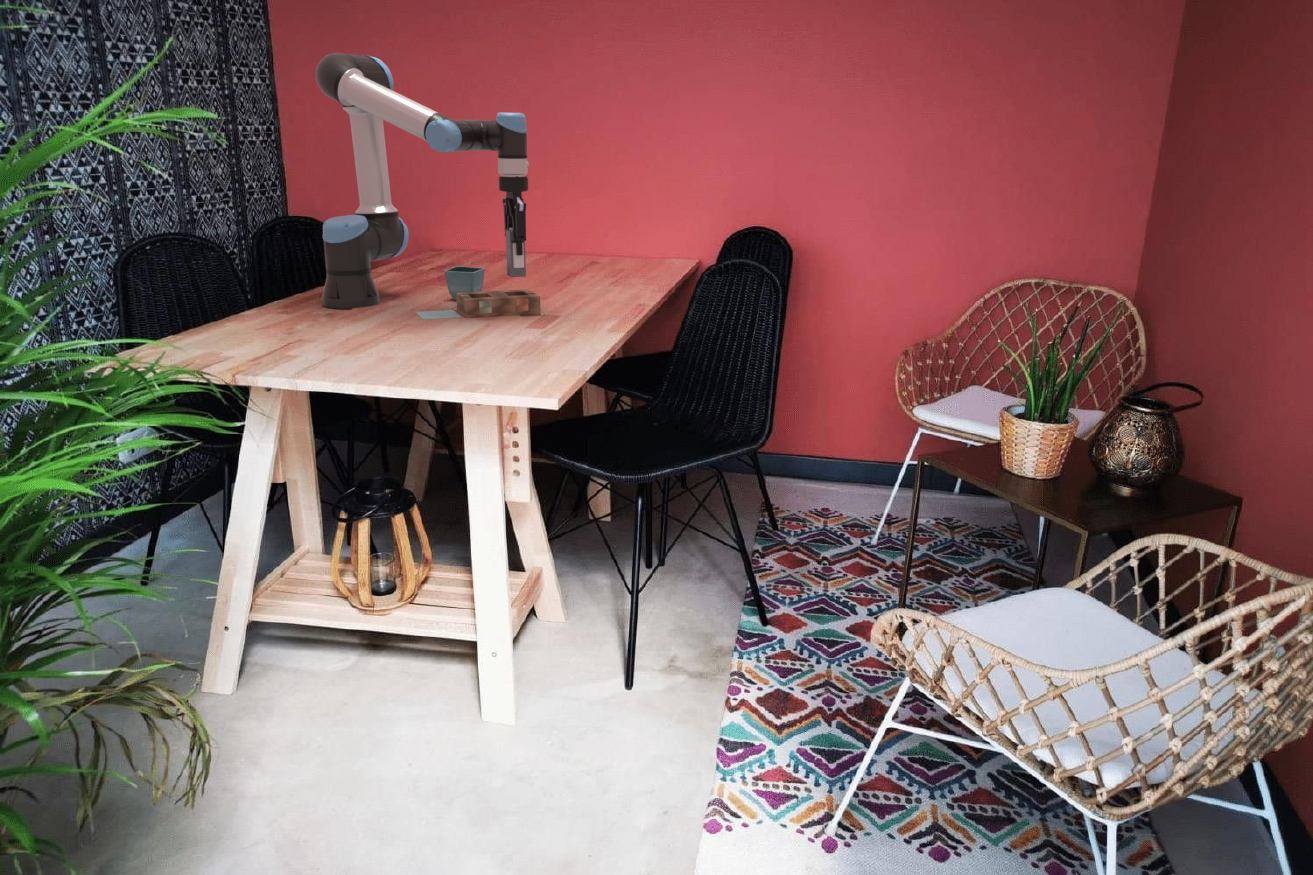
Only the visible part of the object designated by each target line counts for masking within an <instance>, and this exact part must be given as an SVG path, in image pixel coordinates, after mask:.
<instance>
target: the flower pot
mask: <svg viewBox="0 0 1313 875" xmlns="http://www.w3.org/2000/svg"><path fill="white" fill-rule="evenodd" d="M485 270H486V268H485V267H474V266H461V265H460V266H459V265H458V266H453V267H451V268H449V269H445V270H444V275H445V282H446V287H447V290H448V293H449V294H450V297H451V298H452V299H453V300H454V301H456V293H465V292H483V287H484V280H485Z"/></svg>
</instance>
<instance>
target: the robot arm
mask: <svg viewBox="0 0 1313 875" xmlns="http://www.w3.org/2000/svg"><path fill="white" fill-rule="evenodd" d="M315 81H316V84H317V86H318V88H319V90H320V92H322V94H324V95H325V96H326V97H328V98H329V99H331V100H333V101H335V102H337V103H339V104H341V105H342V109H343V111H344V112H346V113H347V114H348V115H349V122H350V130H351V138H352V140H351V141H352V146H353V156H354V163H355V164H354V165H355V173H356V181H357V189H358V190H357V192H358V200H359V206H358V207H357V209H356V210H355V211H354V213H355V214H346V215H340V216H333V217H330V218H328V219H327V220H324V222H323V224H322V237H321V238H322V239H323V240H322V242H323V251H324V262H325V271H326V272H325V273H326V278H325V283H324V287H323V290H322V294H321V295H322V296H321V303H322V306H323V307H326V308H331V309H344V310H347V309H348V310H350V309H357V308H359V309H361V308H366V307H367V308H368V307H372V306H376V305H379V304H381V301H380V294H379V291H378V289H377V286H376V283H375V281H374V279H373V277H372V269H371V268H372V267H371V262H376V261H381V260H391V259H393V258H394V257H398V256H400V255H401V254H403V253H404V251H405V249H406V248H407V247H408V245H409V244H408V243H409V238H410V237H409V236H410V233H409V229H408V225H407V224H406V223H404V220H403V219H402V218H401V217H400V216H399V210H398V208H396V207H395V206H394V204H393V203H392V194H391V188H390V187H391V186H390V176H389V167H388V155H387V148H386V138H385V137H386V136H385V130H384V129H385V128H384V122H387V123H389V124H391V125H393V126H395V127H397V128H399V129H401V130H403V131H405V132H407V133H409V134H411V135H414V136H415V137H417V138H420V139H421V140H424V141H426V142H427V144H428V146H429V147H430V148H431V150H434V151H436V152H442V153H447V154H448V153H455V152H475V151H477V152H478V151H479V152H481V151H484V152H487V151H489V152H490V151H491V152H493V151H494V152H497V157H498V158H497V171H498V174H499V175H500V176H499V177H498V188H499V191H501V192H505V194H506V195H505V198H503V199H502V205H503V220H504V237H505V238H506V230H509V228H512V227H513V236H514V241H511V243H513V266H514V268H524V244H523V243H524V241H525V242H526V241H527V219H526V216H527V215H526V214H527V213H526V210H527V203H526V202H524V198H523V194H522V193H523V192H528V191H529V177H528V176H526V175H527V174H528V172H529V171H528V167H529V166H530V161H528V136H527V135H528V130H527V128H528V127H527V119H526V116H525V114H524V113H522V112H497V114H496V118H495V120H486V119H485V120H484V119H483V120H482V119H452V118H450V117H448V116H445V115H443V114H441V113H440V112H438V111H435V110H433V109H431V108H430V107H427V106H425V105H423V104H421V103H420V102H419V103H418V102H417V101H415V100H413V99H411V98H409V97H407V96H405V95H403V94H400V93H398V92H397V91H395V90H394V78H393V75H392V73H391V70H390V69H389V67H388V65H387V64H385V62H383V61H382V59H379V58H378V57H375V56H371V55H369V54H368V55H367V54H357V53H355V54H353V53H342V52H333V53H329V54H327V55H325V56H324V57H322V58H321V59H320V61H319V62H318V63H317V65H316V69H315Z"/></svg>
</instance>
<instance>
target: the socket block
mask: <svg viewBox="0 0 1313 875" xmlns="http://www.w3.org/2000/svg"><path fill="white" fill-rule="evenodd" d="M455 301H456V311H457V312H459V313H460V314H461V316H463V317H465V318H466V319H475V318H487V317H488V318H490V317H504V316H505V317H506V316H520V317H523V316H525V317H526V316H540V315H541V313H542V312H541V295H539V294H538V293H535V292H534V291H532V290H530V289H527V288H526V289H524V288H523V289H507V290H506V289H505V290H489V291H488V290H487V291H481V292H465V293H456V300H455Z"/></svg>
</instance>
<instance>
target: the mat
mask: <svg viewBox="0 0 1313 875" xmlns="http://www.w3.org/2000/svg"><path fill="white" fill-rule="evenodd" d="M415 313H416V315H417V316H418V317H420V319H422V320H425V321H426V320H439V319H454V318H455V319H456V318H462V315H460V314H458V313H457V312H456V311H455V310H454V309H444V310H442V309H441V310H429V311H428V310H426V311H425V310H424V311H415Z"/></svg>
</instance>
